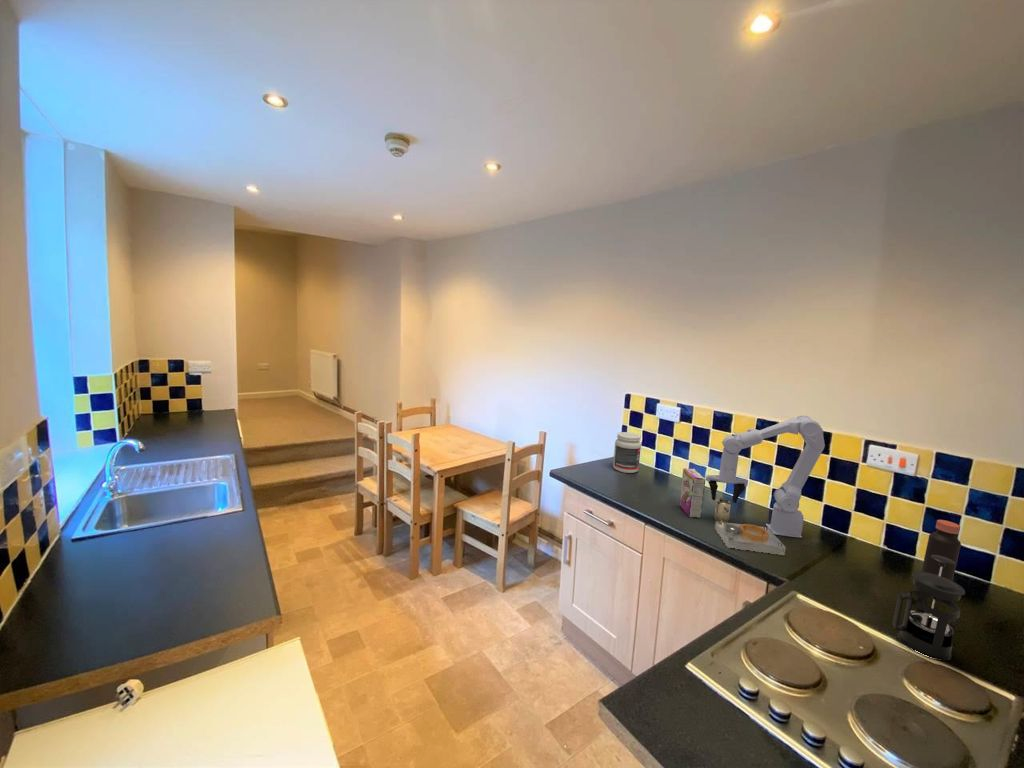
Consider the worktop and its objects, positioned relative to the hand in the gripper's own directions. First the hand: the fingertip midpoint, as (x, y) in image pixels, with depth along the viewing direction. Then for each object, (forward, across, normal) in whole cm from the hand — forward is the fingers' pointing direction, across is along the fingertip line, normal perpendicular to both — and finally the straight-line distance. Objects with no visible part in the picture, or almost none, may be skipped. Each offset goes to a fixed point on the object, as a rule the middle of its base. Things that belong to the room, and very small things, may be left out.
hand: (723, 500), depth 165 cm
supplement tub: (+8, +32, -48) cm, 58 cm away
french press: (+8, -28, +60) cm, 67 cm away
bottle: (+8, -53, +29) cm, 61 cm away
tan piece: (+8, 0, +1) cm, 8 cm away
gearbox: (+8, -4, +16) cm, 18 cm away
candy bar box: (+8, +11, -4) cm, 14 cm away
